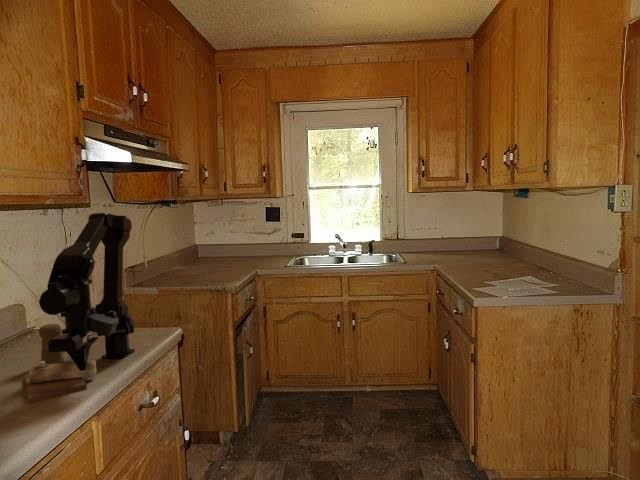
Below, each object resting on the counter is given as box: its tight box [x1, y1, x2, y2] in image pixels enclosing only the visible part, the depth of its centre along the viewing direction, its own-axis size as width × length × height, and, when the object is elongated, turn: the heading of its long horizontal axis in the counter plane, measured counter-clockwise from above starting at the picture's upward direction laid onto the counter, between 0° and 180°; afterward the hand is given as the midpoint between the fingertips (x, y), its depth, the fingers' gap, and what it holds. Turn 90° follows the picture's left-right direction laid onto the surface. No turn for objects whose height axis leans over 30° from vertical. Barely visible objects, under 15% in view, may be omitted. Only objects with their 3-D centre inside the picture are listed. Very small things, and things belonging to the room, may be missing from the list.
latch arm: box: [28, 359, 98, 383], centre depth 113 cm, size 15×4×3 cm, turn 101°
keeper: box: [32, 351, 74, 368], centre depth 116 cm, size 9×8×6 cm
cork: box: [38, 323, 62, 364], centre depth 126 cm, size 6×6×11 cm
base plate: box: [24, 373, 88, 403], centre depth 113 cm, size 18×12×1 cm, turn 34°
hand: (82, 370), depth 112 cm, fingers closed
